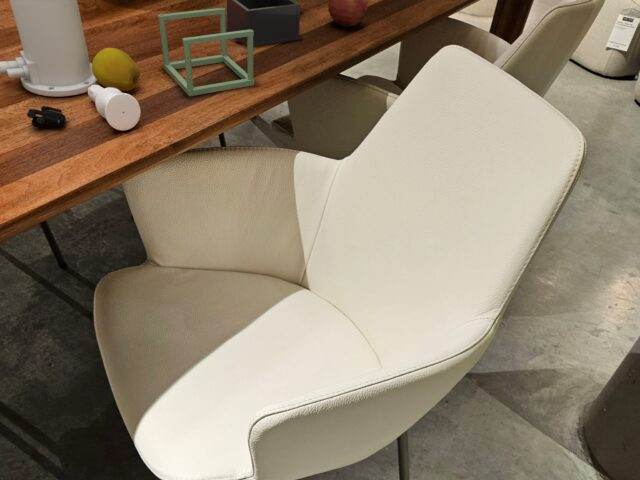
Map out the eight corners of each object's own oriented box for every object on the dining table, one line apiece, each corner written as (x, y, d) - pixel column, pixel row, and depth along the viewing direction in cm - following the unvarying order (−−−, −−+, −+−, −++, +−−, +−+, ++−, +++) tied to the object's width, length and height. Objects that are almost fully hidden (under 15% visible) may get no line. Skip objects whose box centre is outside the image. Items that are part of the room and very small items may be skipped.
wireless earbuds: (63, 123, 84) (24, 113, 82) (61, 140, 85) (23, 131, 83) (67, 109, 89) (31, 99, 87) (65, 125, 90) (29, 116, 88)
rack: (189, 96, 97) (184, 40, 90) (163, 68, 104) (157, 14, 97) (254, 85, 102) (254, 31, 95) (225, 59, 109) (223, 7, 102)
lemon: (153, 75, 98) (115, 49, 98) (138, 57, 91) (97, 30, 92) (131, 107, 98) (93, 81, 98) (115, 91, 91) (75, 64, 92)
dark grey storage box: (247, 47, 113) (247, 10, 109) (227, 30, 119) (226, -5, 114) (298, 40, 118) (300, 4, 113) (277, 24, 123) (277, -11, 119)
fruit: (320, 21, 126) (324, -31, 119) (354, 19, 129) (359, -32, 122) (336, 35, 121) (341, -19, 114) (370, 32, 124) (377, -21, 117)
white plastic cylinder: (100, 125, 84) (72, 102, 92) (135, 134, 88) (105, 112, 95) (110, 88, 82) (81, 68, 90) (145, 100, 86) (114, 79, 94)
